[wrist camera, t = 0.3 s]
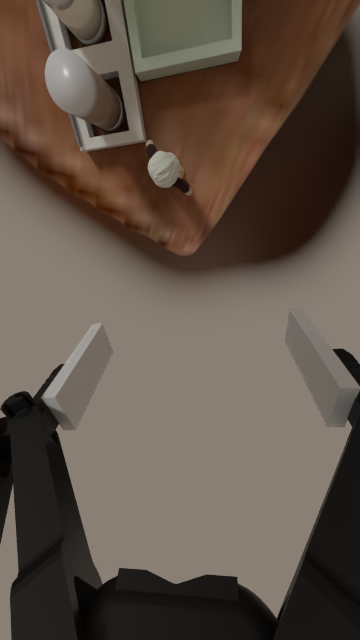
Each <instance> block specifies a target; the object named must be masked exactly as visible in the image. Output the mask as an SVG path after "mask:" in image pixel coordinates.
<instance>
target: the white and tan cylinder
mask: <svg viewBox="0 0 360 640" xmlns="http://www.w3.org/2000/svg"><path fill="white" fill-rule="evenodd" d="M45 80H46V85H47V88H48V91H49V93H50V95H51V97H52V99H53V100H54V102H55V103H56V104H57V105H58V106H59V107H60V108H61V109H62V110H64V111H65V112H68V113H70V114H72V115H74V116H76V117H78V118H81V119H83V120H85V121H87V122H89V123H92V124H94V125H96V126H98V127H100V128H102V129H105V130H107V131H114V130H116V129H118V128H119V127H120V126H121V124H122V122H123V120H124V105H123V102H122V100H121V98H120V96H119V95H118V93H117V92H116V91H115V90H114V89H113V88H112V87H110V86H109V85H108V84H107V83H106V82H105V81H104V80H103V79H102V78H101V77H100V76H99V75H98V74H97V73H96V72H95V71H94V70H93V69H92V68H91V67H90V66H89V65H88V64H87V63H86V62H85V61H84V60H83V59H82V58H80V57H79V56H78V55H77V54H76V53H75V52H73V51H72V50H69V49H66V48H59V49H56V50H55V51H53V52H52V53H51V54H50V56H49V58H48V60H47V62H46V66H45Z"/></svg>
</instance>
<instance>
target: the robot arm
mask: <svg viewBox="0 0 360 640" xmlns="http://www.w3.org/2000/svg"><path fill="white" fill-rule="evenodd" d="M285 343H286V345H287V347H288V349H289V351H290V353H291V355H292V357H293V359H294V361H295V363H296V365H297V367H298V369H299V371H300V373H301V375H302V377H303V379H304V381H305V383H306V385H307V387H308V389H309V391H310V393H311V395H312V397H313V399H314V401H315V403H316V405H317V407H318V409H319V411H320V413H321V415H322V417H323V419H324V421H325V423H326V425H327V427H345V424H346V422H347V420H348V421H349V422H350V424H351V426H352V430H351V432H350V434H349V437H348V439H347V442H346V445H345V447H344V450H343V453H342V455H341V458H340V460H339V463H338V465H337V468H336V470H335V473H334V475H333V478H332V481H331V483H330V486H329V488H328V491H327V493H326V496H325V499H324V501H323V504H322V506H321V508H320V511H319V514H318V516H317V519H316V521H315V524H314V526H313V529H312V531H311V534H310V537H309V539H308V542H307V544H306V547H305V549H304V552H303V554H302V557H301V560H300V562H299V564H298V567H297V570H296V572H295V575H294V577H293V579H292V582H291V584H290V587H289V589H288V591H287V594H286V596H285V599H284V602H283V604H282V607H281V609H280V612H279V614H278V617H277V619H276V617H275V616H274V614H273V613H272V612H271V610H270V609H269V608H268V607H267V606H266V604H265V603H264V602H263V601H262V600H261V599H260V598H259V597H258V596H257V595H255V594H254V593H253V592H251V591H250V590H249V589H247V588H246V587H244V586H242V585H240V584H238V582H237V577H231V576H218V575H217V576H216V575H204V576H201V577H198V578H194V579H191V580H188V581H185V582H182V583H179V584H173V583H171V582H169V581H167V580H165V579H163V578H161V577H159V576H157V575H155V574H153V573H151V572H149V571H147V570H139V569H126V568H119V572H118V576H116V577H115V578H112V579H110V580H108V581H107V582H105V583H104V584H102V581H101V578H100V576H99V573H98V571H97V569H96V568H95V565H94V564H93V561H92V558H91V555H90V551H89V547H88V543H87V539H86V536H85V532H84V529H83V525H82V521H81V518H80V514H79V510H78V506H77V502H76V499H75V495H74V492H73V488H72V484H71V480H70V477H69V473H68V469H67V466H66V462H65V458H64V455H63V451H62V447H61V444H60V440H59V437H58V433H57V431H56V428H57V426H58V424H59V425H60V426H61V427H62V429H63V430H76V428H77V426H78V424H79V422H80V420H81V418H82V416H83V414H84V412H85V410H86V407H87V405H88V403H89V401H90V399H91V397H92V395H93V393H94V391H95V389H96V387H97V385H98V382H99V380H100V378H101V376H102V374H103V372H104V370H105V368H106V366H107V364H108V362H109V360H110V358H111V356H112V354H113V350H112V347H111V345H110V342H109V339H108V337H107V334H106V331H105V329H104V326H103V324H93V325H92V326H91V327H90V329H89V330H88V332H87V333H86V335H85V336H84V338H83V339H82V340H81V342H80V343H79V344H78V346H77V347H76V349H75V350H74V352H73V353H72V355H71V356H70V357H69V359H68V360H67V362H66V363H65V364H61V365H59V366H58V367H57V368H56V369H55V370H53V372H52V373H51V375H50V376H49V378H48V379H47V380H46V381H45V383H44V384H43V385H42V387H41V388H40V389H39V391H38V392H37V394H36V395H35V396H34V398H32V397H31V395H30V394H29V393H28V392H25V391H24V392H19V393H16V394H14V395H12V396H10V397H9V398H8V399H7V400H5V401H4V403H3V404H2V405H1V409H0V410H2V412H3V413H4V414H5V415H6V417H3V418H0V543H1V538H2V533H3V528H4V524H5V519H6V514H7V509H8V505H9V499H10V495H11V490H12V485H13V486H14V503H15V519H16V535H17V548H18V549H17V551H18V567H19V573H18V577H17V578H16V579H15V581H14V582H13V583H12V587H11V593H10V594H11V595H10V607H11V635H12V640H360V364H359V363H358V361H357V360H356V359H355V358H354V357H353V355H352V354H350V353H349V352H347V351H346V350H344V349H332V348H331V347H330V346H329V344H328V343H327V342H326V340H325V339H324V338H323V336H322V335H321V334H320V332H319V331H318V330H317V328H316V327H315V325H314V324H313V323H312V321H311V320H310V319H309V318H308V316H307V315H306V313H305V312H304V311H303V309H302V308H296V309H289V316H288V324H287V331H286V338H285Z"/></svg>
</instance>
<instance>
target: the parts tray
mask: <svg viewBox="0 0 360 640" xmlns="http://www.w3.org/2000/svg"><path fill="white" fill-rule="evenodd" d="M124 6H125V12H126V19H127V25H128V31H129V37H130V43H131V49H132V56H133V62H134V68H135V73H136V75H137V76H138V78H139V79H140V81H141V82H142V81H147V80H152V79H156V78H161V77H166V76H171V75H175V74H180V73H185V72H190V71H195V70H199V69H204V68H209V67H214V66H218V65H223V64H228V63H233V62H237V61H238V59H239V56H240V53H241V50H242V0H124Z"/></svg>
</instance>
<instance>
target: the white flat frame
mask: <svg viewBox="0 0 360 640" xmlns="http://www.w3.org/2000/svg"><path fill="white" fill-rule="evenodd" d="M36 3H37V6H38V10H39V13H40V17H41V20H42V24H43V27H44V31H45V34H46V37H47V41H48V44H49V48H50V51H51V53H52V52H53V51H55V50H56V49H59V48H66V49H69V50H72V47H71V43H70V39H69V35H68V31H67V27H66V25H65V24H64V23H63V22H62V21H61V20H60V19H59V18H58V17H57V15H56V14H55V13H54V12H53V11H52V10H51V9H50V8H49V7H48V6H47V4H46V3H45V2H44V1H43V0H36ZM105 5H106V10H107V15H108V21H109V26H110V31H111V36H112V41H109V42H104V43H100V44H96V45H92V46H88V47H83V48H79V49H75V50H72V51H73V52H75V53H76V54H77V55H78V56H79V57H80V58H82V59H83V60H84V61H85V62H86V63H87V64H88V65H89V66H90V67H91V68H92V69H93V70H94V71H95V72H96V73H97V74H98V75H99V76H100V77H101V78H102V79H103V80H109V79H113V78H118V77H119V79H120V84H121V89H122V94H123V100H124V105H125V110H126V115H127V121H128V126H129V131H124V132H119V133H113V134H108V135H102V136H97V137H94V133H93V129H92V125H91V123H89V122H87V121H85V120H83V119H81V118H78V117H76V116H74V115H72V114H70V113H69V117H70V120H71V124H72V127H73V131H74V134H75V137H76V141H77V144H78V147H80V150H81V151H84V152H89V151H95V150H101V149H107V148H112V147H118V146H124V145H130V144H135V143H141V142H147V140H146V134H145V128H144V121H143V115H142V109H141V103H140V97H139V91H138V84H137V78H136V73H135V68H134V62H133V56H132V49H131V43H130V37H129V31H128V25H127V19H126V12H125V6H124V0H105Z"/></svg>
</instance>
